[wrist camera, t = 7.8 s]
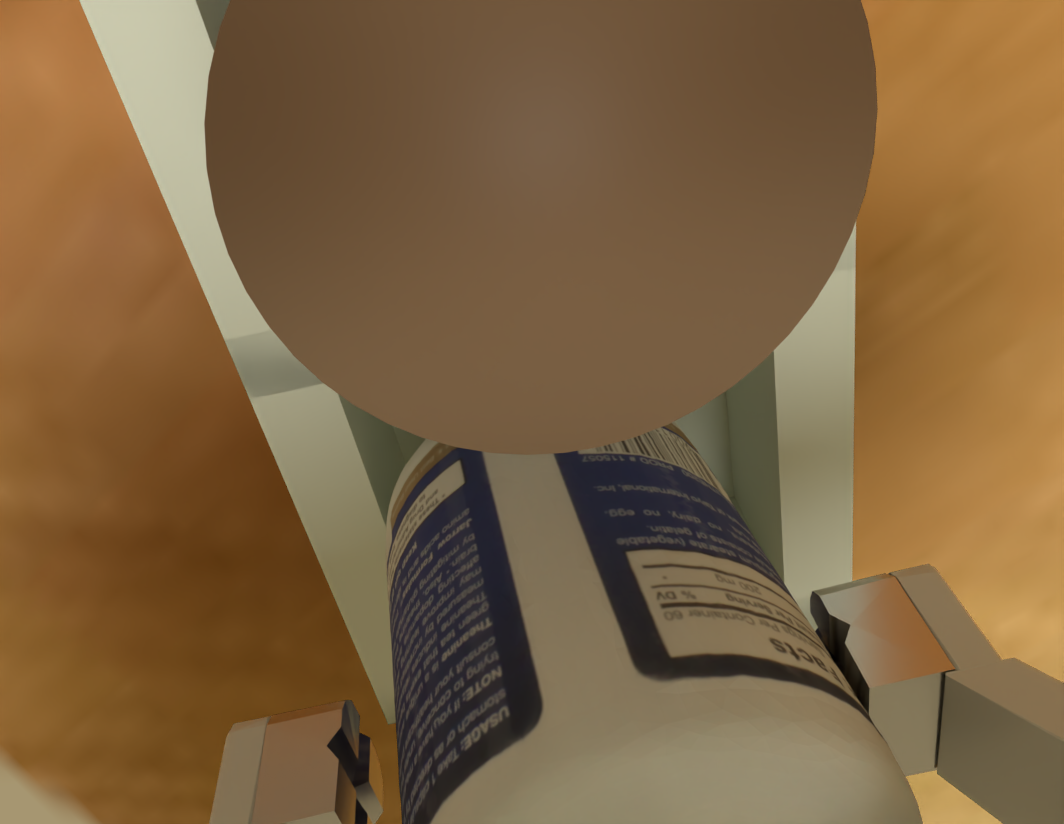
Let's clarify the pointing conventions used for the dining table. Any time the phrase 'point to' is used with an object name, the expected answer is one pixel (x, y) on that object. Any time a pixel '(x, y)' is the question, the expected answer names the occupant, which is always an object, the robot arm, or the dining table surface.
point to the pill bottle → (611, 651)
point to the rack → (383, 450)
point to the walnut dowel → (537, 199)
